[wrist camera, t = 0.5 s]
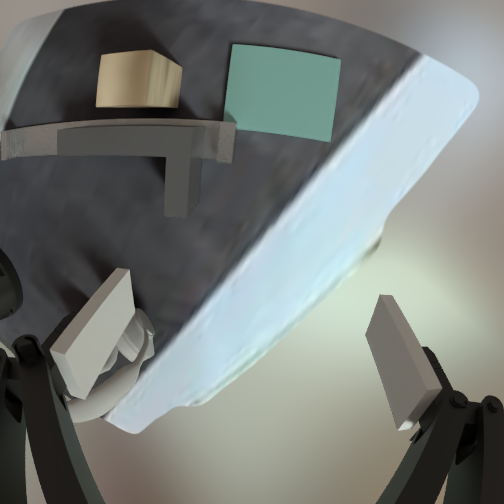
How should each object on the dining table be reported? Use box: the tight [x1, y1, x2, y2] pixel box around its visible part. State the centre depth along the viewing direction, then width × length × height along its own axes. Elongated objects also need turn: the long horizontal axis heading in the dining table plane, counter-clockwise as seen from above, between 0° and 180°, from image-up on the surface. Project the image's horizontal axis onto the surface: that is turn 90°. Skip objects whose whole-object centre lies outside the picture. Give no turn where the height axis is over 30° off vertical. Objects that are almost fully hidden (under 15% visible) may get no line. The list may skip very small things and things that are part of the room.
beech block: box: [96, 50, 182, 108], centre depth 25 cm, size 5×5×10 cm
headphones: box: [67, 308, 154, 422], centre depth 34 cm, size 19×9×20 cm, turn 116°
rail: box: [1, 119, 238, 163], centre depth 31 cm, size 35×4×2 cm, turn 84°
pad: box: [223, 44, 341, 142], centre depth 29 cm, size 12×10×1 cm
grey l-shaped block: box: [57, 124, 205, 218], centre depth 30 cm, size 16×9×6 cm, turn 84°
